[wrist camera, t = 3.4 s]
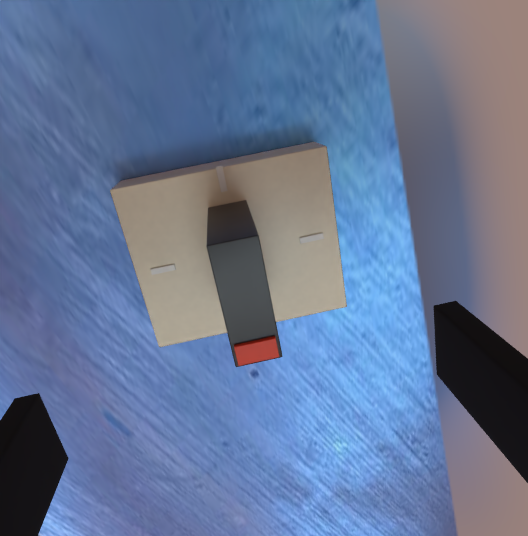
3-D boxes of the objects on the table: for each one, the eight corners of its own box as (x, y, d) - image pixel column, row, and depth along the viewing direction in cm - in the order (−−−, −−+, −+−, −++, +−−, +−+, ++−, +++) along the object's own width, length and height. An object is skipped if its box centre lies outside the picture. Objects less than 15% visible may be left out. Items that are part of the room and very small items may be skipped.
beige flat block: (314, 139, 27) (327, 144, 24) (334, 289, 31) (348, 309, 28) (119, 179, 26) (108, 188, 24) (164, 326, 30) (159, 350, 27)
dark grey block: (207, 207, 25) (206, 247, 18) (246, 199, 25) (259, 236, 18) (229, 302, 27) (236, 370, 20) (265, 295, 27) (283, 360, 20)
